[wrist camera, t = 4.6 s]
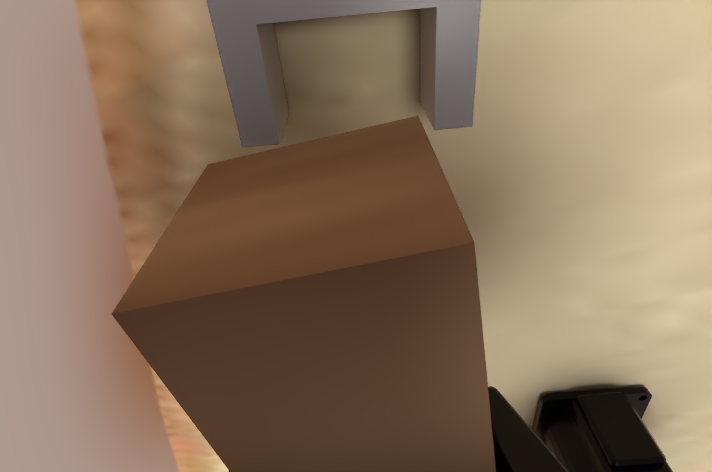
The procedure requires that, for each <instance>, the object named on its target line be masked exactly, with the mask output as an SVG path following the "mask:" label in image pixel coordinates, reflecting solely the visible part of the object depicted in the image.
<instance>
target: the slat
mask: <svg viewBox="0 0 712 472" xmlns="http://www.w3.org/2000/svg"><path fill="white" fill-rule="evenodd" d="M112 315H113V316H114V318H115V319H116V320H117V322H118V323H119V324H120V325H121V327H122V328H123V330H124V331H125V332H126V334H127V335H128V336H129V337H130V339H131V340H132V341H133V343H134V344H135V346H136V347H137V348H138V350H139V351H140V352H141V354H142V355H143V356H144V358H145V359H146V360H147V362H148V363H149V364H150V366H151V367H152V368H153V370H154V371H155V372H156V374H157V375H158V376H159V378H160V379H161V380H162V382H163V383H164V384H165V386H166V387H167V388H168V390H169V391H170V392H171V394H172V395H173V396H174V398H175V399H176V400H177V402H178V403H179V404H180V406H181V407H182V408H183V410H184V411H185V412H186V414H187V415H188V416H189V418H190V419H191V420H192V422H193V423H194V424H195V425H196V427H197V428H198V429H199V431H200V432H201V433H202V435H203V436H204V437H205V439H206V440H207V441H208V443H209V444H210V445H211V447H212V448H213V449H214V451H215V452H216V453H217V455H218V456H219V457H220V459H221V460H222V461H223V463H224V464H225V465H226V467H227V468H228V469H229V471H230V472H496V466H495V456H494V445H493V435H492V425H491V414H490V404H489V393H488V383H487V372H486V362H485V351H484V341H483V331H482V320H481V310H480V299H479V289H478V278H477V268H476V257H475V247H474V241H473V239H472V237H471V234H470V232H469V230H468V228H467V225H466V223H465V221H464V219H463V216H462V214H461V212H460V210H459V207H458V205H457V203H456V201H455V198H454V196H453V194H452V191H451V189H450V187H449V185H448V182H447V180H446V178H445V176H444V173H443V171H442V169H441V167H440V164H439V162H438V160H437V158H436V155H435V153H434V151H433V149H432V146H431V144H430V142H429V139H428V137H427V135H426V133H425V130H424V128H423V126H422V124H421V121H420V119H419V117H418V116H415V117H411V118H407V119H403V120H398V121H394V122H390V123H385V124H381V125H377V126H372V127H368V128H364V129H359V130H355V131H351V132H346V133H342V134H338V135H334V136H329V137H325V138H321V139H316V140H312V141H308V142H303V143H299V144H295V145H290V146H286V147H282V148H278V149H273V150H269V151H265V152H260V153H256V154H252V155H247V156H243V157H239V158H234V159H230V160H226V161H222V162H217V163H213V164H209V165H208V166H207V167H206V169H205V170H204V172H203V173H202V175H201V176H200V178H199V179H198V181H197V183H196V184H195V186H194V187H193V189H192V190H191V192H190V193H189V195H188V196H187V198H186V200H185V201H184V203H183V204H182V206H181V207H180V209H179V210H178V212H177V213H176V215H175V217H174V218H173V220H172V221H171V223H170V224H169V226H168V227H167V229H166V230H165V232H164V234H163V235H162V237H161V238H160V240H159V241H158V243H157V244H156V246H155V247H154V249H153V251H152V252H151V254H150V255H149V257H148V258H147V260H146V261H145V263H144V264H143V266H142V268H141V269H140V271H139V272H138V274H137V275H136V277H135V278H134V280H133V282H132V283H131V285H130V286H129V288H128V289H127V291H126V292H125V294H124V295H123V297H122V299H121V300H120V302H119V303H118V305H117V306H116V308H115V309H114V311H113V312H112Z"/></svg>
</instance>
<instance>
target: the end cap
mask: <svg viewBox="0 0 712 472" xmlns="http://www.w3.org/2000/svg"><path fill="white" fill-rule="evenodd" d="M207 4H208V8H209V12H210V16H211V20H212V24H213V28H214V32H215V36H216V40H217V45H218V49H219V53H220V57H221V61H222V65H223V69H224V73H225V77H226V82H227V86H228V90H229V94H230V98H231V102H232V106H233V110H234V114H235V118H236V123H237V127H238V131H239V135H240V139H241V143H242V147H252V146H263V145H274V144H280V141H281V138H282V135H283V132H284V128H285V125H286V122H287V119H288V116H289V111H288V105H287V100H286V94H285V88H284V82H283V76H282V71H281V65H280V59H279V53H278V47H277V42H276V36H275V30H274V24H273V23H276V22H286V21H297V20H307V19H317V18H328V17H338V16H348V15H358V14H369V13H379V12H389V11H400V10H410V9H420V103H421V105H422V107H423V109H424V110H425V112H426V114H427V116H428V118H429V120H430V122H431V124H432V126H433V128H434V130H441V129H452V128H463V127H472V122H473V108H474V93H475V78H476V64H477V49H478V34H479V19H480V5H481V0H207Z"/></svg>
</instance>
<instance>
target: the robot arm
mask: <svg viewBox="0 0 712 472" xmlns="http://www.w3.org/2000/svg"><path fill="white" fill-rule="evenodd" d="M488 393H489V404H490V414H491V425H492V435H493V445H494V456H495V466H496V472H673V471H672V470H671V468H670V466H669V465H668V463H667V462H666V458H665V456H664V454H663V453H662V451H661V450H660V448H659V446H658V445H657V443H656V442H655V440H654V439H653V437H652V435H651V434H650V432H649V431H648V429H647V428H646V426H645V424H644V423H643V421H642V420H641V418H642V416H643V414H644V412H645V410H646V408H647V406H648V404H649V401H650V399H651V397H652V395H651V394H650V392H649V391H648V389H647V388H645V387H637V388H623V389H610V390H596V391H583V392H569V393H556V394H547V395H544V396H542V397H541V398H540V401H539V405H538V409H537V413H536V417H535V421H534V425H533V429H531V428H530V427H529V426H528V425H527V424H526V422H525V421H524V420H523V419H522V418H521V417H520V416H519V414H518V413H517V412H516V411H515V410H514V409H513V407H512V406H511V405H510V404H509V403H508V402H507V400H506V399H505V398H504V397H503V396H502V395H501V394H500V392H499V391H498V390H497V389H496V388H494V387H491V386H490V387H488ZM229 472H230V471H229Z"/></svg>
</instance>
